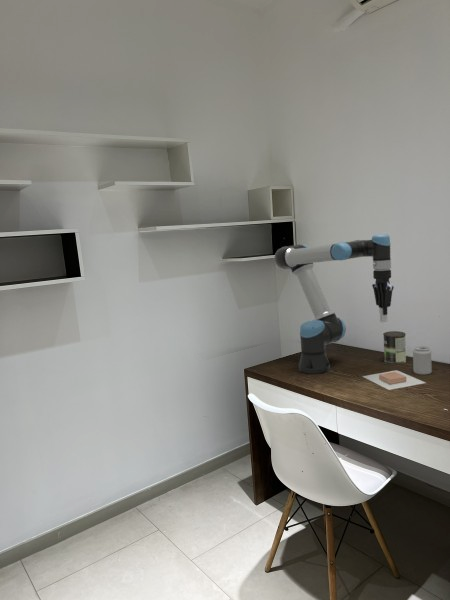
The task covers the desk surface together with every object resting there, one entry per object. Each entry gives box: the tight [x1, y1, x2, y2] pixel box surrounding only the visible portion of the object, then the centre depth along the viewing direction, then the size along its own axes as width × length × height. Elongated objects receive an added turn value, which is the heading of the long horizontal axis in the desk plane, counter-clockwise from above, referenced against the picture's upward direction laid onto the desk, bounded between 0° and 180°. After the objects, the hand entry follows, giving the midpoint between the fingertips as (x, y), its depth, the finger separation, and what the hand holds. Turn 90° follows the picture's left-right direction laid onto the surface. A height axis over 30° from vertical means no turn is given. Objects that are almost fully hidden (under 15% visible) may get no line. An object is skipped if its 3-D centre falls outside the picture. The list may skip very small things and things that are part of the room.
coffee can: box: [383, 330, 407, 364], centre depth 227 cm, size 10×10×14 cm
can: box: [412, 345, 433, 375], centre depth 207 cm, size 8×8×12 cm
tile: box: [379, 371, 407, 384], centre depth 199 cm, size 2×8×8 cm
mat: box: [362, 369, 426, 391], centre depth 201 cm, size 20×18×1 cm
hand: (383, 321), depth 208 cm, fingers closed
